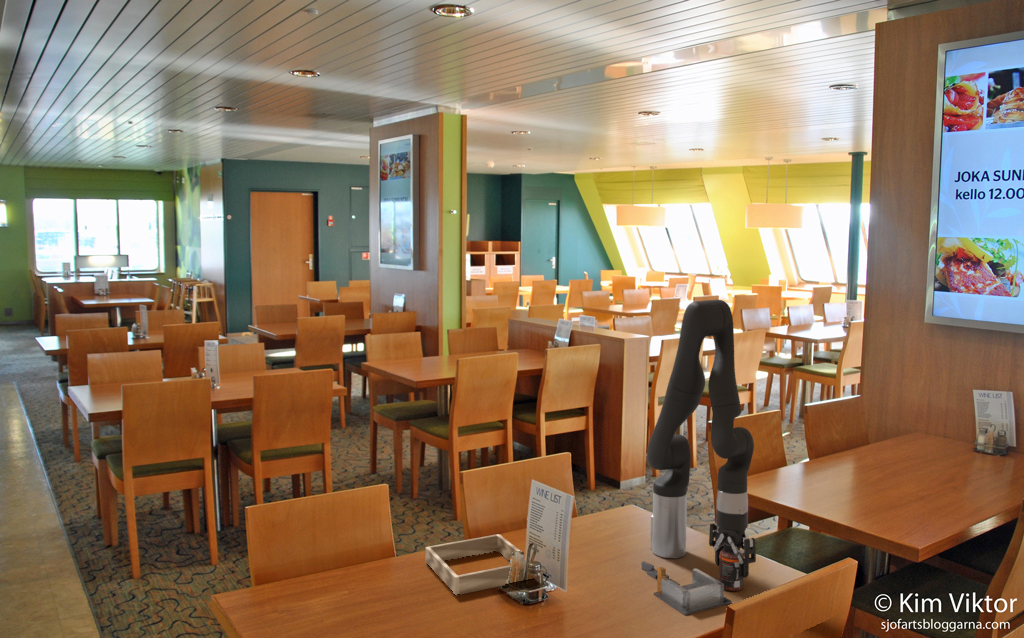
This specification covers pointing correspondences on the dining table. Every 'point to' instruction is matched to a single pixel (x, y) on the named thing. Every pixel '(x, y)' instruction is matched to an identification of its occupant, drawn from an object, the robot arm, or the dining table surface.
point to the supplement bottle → (729, 569)
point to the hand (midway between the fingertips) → (731, 571)
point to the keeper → (691, 592)
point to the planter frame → (468, 548)
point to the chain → (653, 571)
